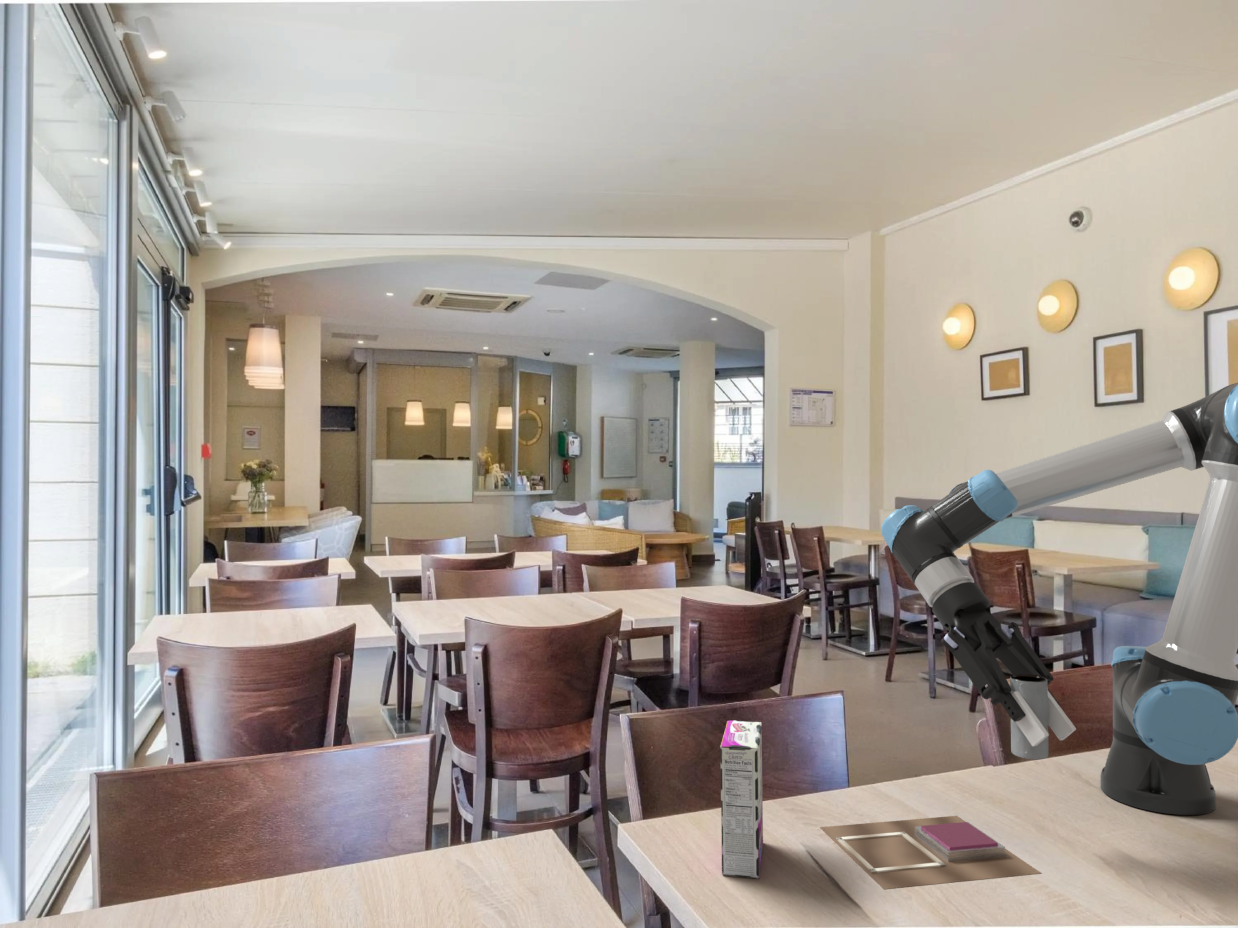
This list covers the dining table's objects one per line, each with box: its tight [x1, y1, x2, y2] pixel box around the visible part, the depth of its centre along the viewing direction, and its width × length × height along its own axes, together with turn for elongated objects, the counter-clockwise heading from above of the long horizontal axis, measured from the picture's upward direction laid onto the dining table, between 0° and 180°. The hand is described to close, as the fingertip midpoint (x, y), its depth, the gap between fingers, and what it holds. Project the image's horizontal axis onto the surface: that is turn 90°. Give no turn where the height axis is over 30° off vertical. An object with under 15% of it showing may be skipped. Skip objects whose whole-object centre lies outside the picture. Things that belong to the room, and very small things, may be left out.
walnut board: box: [819, 815, 1043, 890], centre depth 113 cm, size 21×18×1 cm
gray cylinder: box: [1009, 674, 1049, 761], centre depth 116 cm, size 4×4×10 cm
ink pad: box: [915, 821, 1006, 862], centre depth 114 cm, size 8×8×2 cm
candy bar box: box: [719, 720, 764, 879], centre depth 112 cm, size 11×5×16 cm, turn 168°
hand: (1054, 737), depth 112 cm, fingers closed on gray cylinder, 4 cm apart
